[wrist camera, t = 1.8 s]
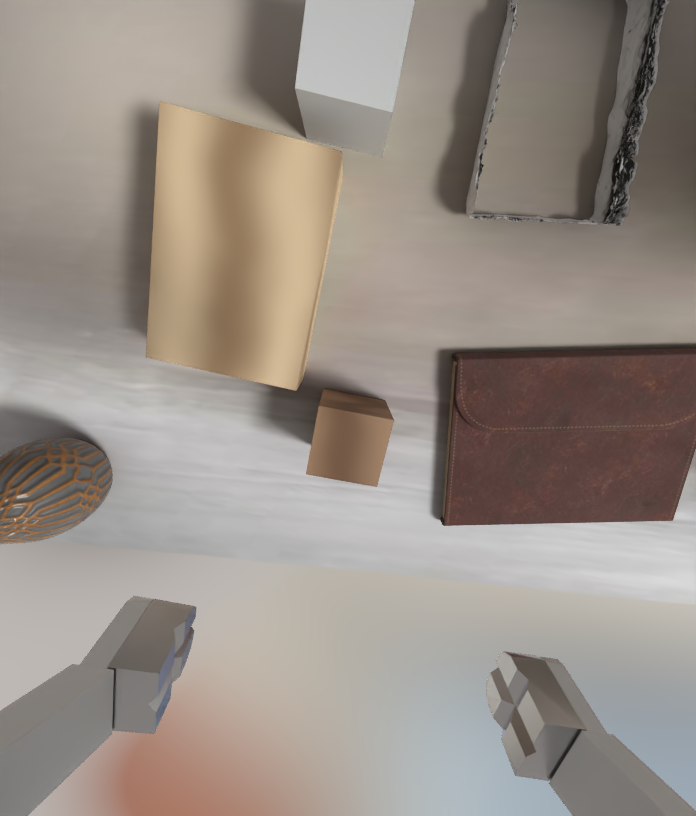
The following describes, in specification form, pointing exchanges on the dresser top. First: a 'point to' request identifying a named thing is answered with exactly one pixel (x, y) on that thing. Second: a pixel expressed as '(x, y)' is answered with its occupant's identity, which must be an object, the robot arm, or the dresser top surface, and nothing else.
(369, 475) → the walnut cube
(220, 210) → the oak block
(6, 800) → the robot arm
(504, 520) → the notebook
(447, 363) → the dresser top surface
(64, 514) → the vase
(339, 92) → the grey block
